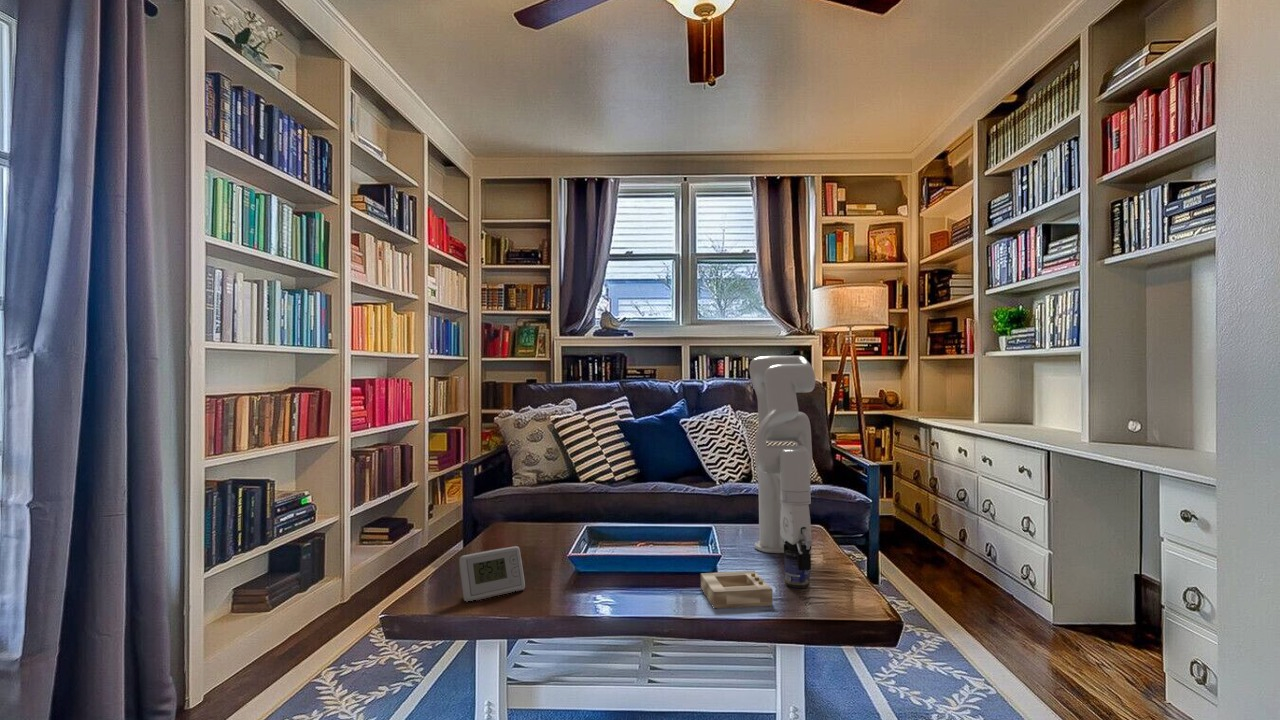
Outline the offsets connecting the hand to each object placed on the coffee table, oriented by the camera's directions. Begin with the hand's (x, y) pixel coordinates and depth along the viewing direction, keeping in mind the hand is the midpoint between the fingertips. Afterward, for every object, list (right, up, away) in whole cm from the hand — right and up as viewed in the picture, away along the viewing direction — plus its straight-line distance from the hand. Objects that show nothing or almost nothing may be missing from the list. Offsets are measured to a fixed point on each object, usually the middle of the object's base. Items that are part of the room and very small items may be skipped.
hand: (797, 564), depth 159 cm
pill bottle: (0, -6, 0) cm, 6 cm away
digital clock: (-77, -6, -4) cm, 77 cm away
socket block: (-17, -5, -8) cm, 19 cm away
